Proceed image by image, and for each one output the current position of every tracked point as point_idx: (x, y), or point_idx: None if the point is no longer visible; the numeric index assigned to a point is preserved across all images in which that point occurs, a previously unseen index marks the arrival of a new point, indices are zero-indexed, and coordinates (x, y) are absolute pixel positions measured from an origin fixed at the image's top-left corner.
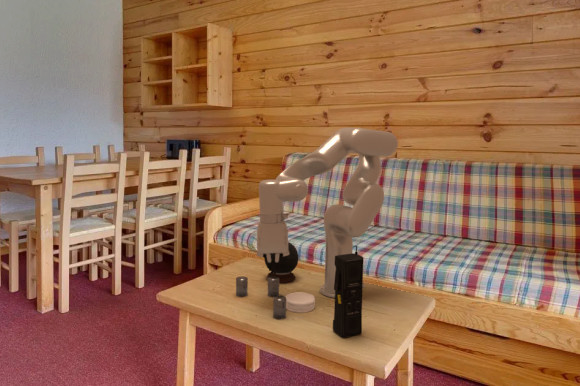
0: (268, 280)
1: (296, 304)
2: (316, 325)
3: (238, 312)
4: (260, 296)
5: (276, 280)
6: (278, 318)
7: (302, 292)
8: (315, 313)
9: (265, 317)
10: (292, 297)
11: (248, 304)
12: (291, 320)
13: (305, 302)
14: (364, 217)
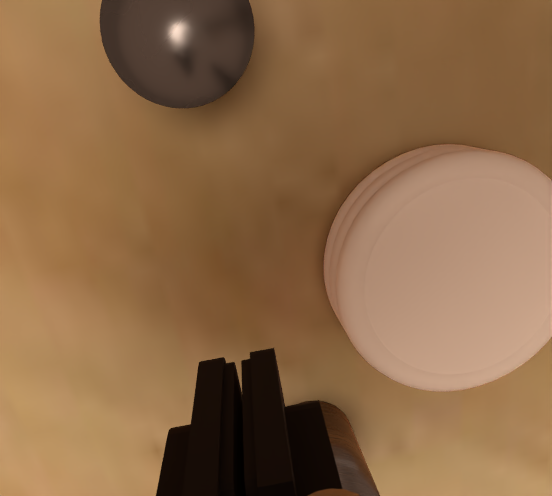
0: (125, 82)
1: (436, 390)
2: (528, 489)
3: (18, 441)
4: (80, 107)
5: (229, 89)
6: None
7: (489, 170)
8: None
9: None
10: (404, 293)
11: (37, 298)
12: (388, 466)
13: (507, 372)
14: None
